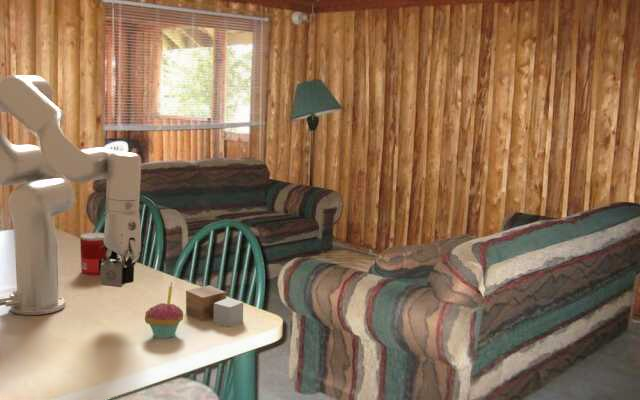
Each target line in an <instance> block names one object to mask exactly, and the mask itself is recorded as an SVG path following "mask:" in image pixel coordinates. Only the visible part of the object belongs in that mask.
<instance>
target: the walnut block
mask: <svg viewBox="0 0 640 400" xmlns="http://www.w3.org/2000/svg"><path fill="white" fill-rule="evenodd" d="M226 298H227V291H224V290H221V289H219V288H217V287H214V286H212V285H206V286H200V287H197V288H192V289H186V290H185V301H186V302H185V313H186V314H187V315H188V316H191V317H193V318H195V319H197V320H200V321H202V322H203V321H208V320H211V319H214V303H215V302H218V301H221V300H223V299H226Z"/></svg>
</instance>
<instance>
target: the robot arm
mask: <svg viewBox="0 0 640 400" xmlns="http://www.w3.org/2000/svg"><path fill="white" fill-rule="evenodd" d="M52 100H53V90H52V87H51V86H50V83H48V81H46V80H45V79H44V78H42V77H41V76H38V75H35V74H34V75H31V74H11V75H7V76H4V77H3V78H0V113H9V114H10V115H11V116H13V118H15V120H17V121H18V122H20V124H21V125H23V127H25V128H26V129H27V130H29V131H30V133H32V134H33V135H34V136H35V137H36V139H37V143H38V146H37V145H33V144H32V143H31V144H27V143H25V144H24V143H23V144H22V143H21V144H13V143H12V142H11V140H9V139H8V138H7V136H5V134H4V133H3V132H2V130H1V129H0V186H3V187H4V186H5V187H8V186H15V185H18V186H16V187H15V188H14V189H13V190H12V191H11V193H10V195H9V197H8V209H9V213H10V216H11V222H12V226H13V235H14V250H15V251H14V253H15V272H16V273H15V275H16V289H15V290H12V293H11V294H10V295H9V296H1V297H0V306H5V307H6V308H7V307H8V308H9V307H10V310H11V312H13V313H14V314H17V315H21V316H39V315H45V314H46V315H47V314H52V313H55V312H59V311H60V310H62V309H64V308H65V307H66V300H65V298H63V297H62V296H59V272H58V271H59V268H58V265H59V264H58V241H57V233H56V230H55V227H54V224H53V222H52V219H51V217H54V216H58V215H61V214H64V213H65V212H68V211H69V210H70V209H71V208H72V207H73V206H74V204H75V200H76V193H75V189H74V188H73V187H74V186H73V185H72V183H71V182H73V183H76V184H85V183H90V182H93V181H99V180H105V179H106V189H105V191H106V192H105V193H106V196H105V213H106V214H105V220H104V221H105V222H104V229H103V231H104V232H103V233H104V240H103V241H104V244H105V250H106V252H107V253H106V258H107V260H108V259H116V260H122V266H123V268H122V284H124V285H126V284H131V283H134V276H135V272H134V271H135V267H136V263H137V262H138V260H139V258H140V254H141V251H142V230H141V229H142V227H141V217H140V213H139V212H140V196H141V194H140V193H141V175H142V172H141V171H142V159H141V158H142V157H141V156H140V155H139V154H138V153H135V152H131V151H130V152H129V151H118V150H114V149H111V148H108V147H105V146H98V147H89V148H83V149H80V148H79V147H78V146H76V145H75V144H74V143H73V142H72V141H71V140H69V138H68V137H66V135H65V134H64V133H63V131H62V128H63V125H64V124H65V120H66V114H65V112H64V111H63V110H62V109H61V108H60V107H58V106H57V105H56V104H55V103H54V102H53V101H52ZM70 181H71V182H70ZM126 252H129V253H126ZM119 256H120V257H119ZM127 257H129V258H127ZM125 283H126V284H125Z"/></svg>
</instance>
